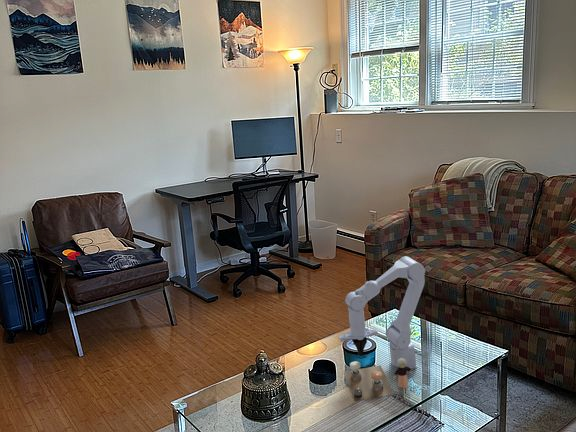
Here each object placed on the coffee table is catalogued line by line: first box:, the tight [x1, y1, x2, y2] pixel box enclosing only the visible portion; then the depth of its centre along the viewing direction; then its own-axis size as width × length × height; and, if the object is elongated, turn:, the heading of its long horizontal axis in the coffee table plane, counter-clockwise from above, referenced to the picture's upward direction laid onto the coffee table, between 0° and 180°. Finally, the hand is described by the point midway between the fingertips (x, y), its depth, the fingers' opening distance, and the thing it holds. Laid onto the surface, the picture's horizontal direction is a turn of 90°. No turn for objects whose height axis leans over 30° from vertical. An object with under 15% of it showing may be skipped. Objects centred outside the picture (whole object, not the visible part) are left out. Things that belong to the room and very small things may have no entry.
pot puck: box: [354, 388, 362, 398], centre depth 198 cm, size 3×3×3 cm
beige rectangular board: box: [343, 364, 396, 402], centre depth 206 cm, size 15×20×4 cm
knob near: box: [371, 371, 382, 384], centre depth 201 cm, size 4×4×4 cm
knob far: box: [349, 361, 361, 373], centre depth 209 cm, size 4×4×4 cm
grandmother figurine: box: [392, 358, 413, 389], centre depth 200 cm, size 8×4×13 cm, turn 117°
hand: (360, 354), depth 211 cm, fingers closed
